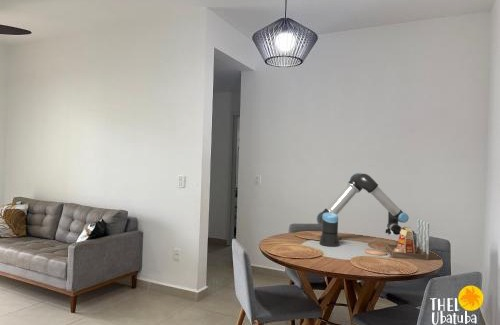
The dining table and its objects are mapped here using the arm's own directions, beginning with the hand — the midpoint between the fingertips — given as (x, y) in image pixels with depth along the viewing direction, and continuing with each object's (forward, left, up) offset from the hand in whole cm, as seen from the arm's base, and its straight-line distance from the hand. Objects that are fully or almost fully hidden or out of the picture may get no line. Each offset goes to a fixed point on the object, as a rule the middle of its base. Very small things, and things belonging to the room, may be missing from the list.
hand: (402, 234), depth 250 cm
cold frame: (+10, 0, -12) cm, 15 cm away
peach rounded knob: (+18, -7, -12) cm, 22 cm away
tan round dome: (+12, -20, -12) cm, 26 cm away
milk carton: (+10, 0, -12) cm, 16 cm away
